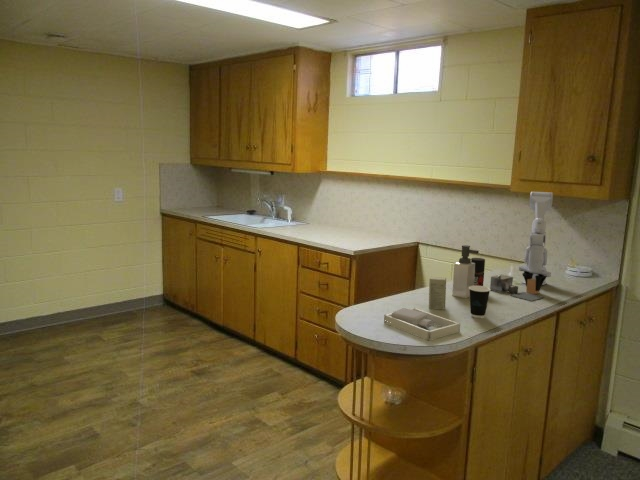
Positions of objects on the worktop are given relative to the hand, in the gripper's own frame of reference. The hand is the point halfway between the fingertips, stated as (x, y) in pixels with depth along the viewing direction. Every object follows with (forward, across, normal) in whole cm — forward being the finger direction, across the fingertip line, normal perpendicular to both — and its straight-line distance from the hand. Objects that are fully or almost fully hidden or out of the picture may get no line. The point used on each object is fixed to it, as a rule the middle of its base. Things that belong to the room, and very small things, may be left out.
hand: (533, 289), depth 234 cm
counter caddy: (+1, +5, -78) cm, 78 cm away
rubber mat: (+1, +3, -9) cm, 10 cm away
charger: (+2, +3, -79) cm, 79 cm away
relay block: (+1, 0, 0) cm, 1 cm away
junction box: (+1, -11, -8) cm, 14 cm away
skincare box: (+2, -8, -55) cm, 56 cm away
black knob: (+2, -5, -8) cm, 9 cm away
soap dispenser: (+2, -13, -31) cm, 34 cm away
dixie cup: (+2, +8, -50) cm, 51 cm away
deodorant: (+2, -15, -21) cm, 26 cm away
